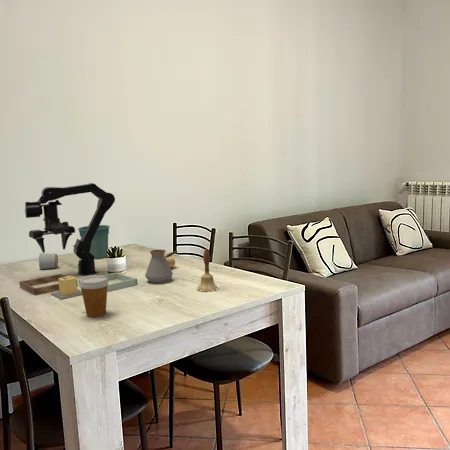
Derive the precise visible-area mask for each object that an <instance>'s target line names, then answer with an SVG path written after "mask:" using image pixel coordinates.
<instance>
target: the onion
mask: <svg viewBox="0 0 450 450" xmlns="http://www.w3.org/2000/svg"><path fill="white" fill-rule="evenodd" d="M168 254H169V253H164V256H166V255H168ZM166 260H167V262H168V264H169V266H170V268H171V269H173V268H174V267H175V265H176V260H175V258H174V257H173V255H172V256H170V257H167V258H166Z"/></svg>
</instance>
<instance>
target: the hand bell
mask: <svg viewBox="0 0 450 450" xmlns="http://www.w3.org/2000/svg"><path fill="white" fill-rule="evenodd" d="M202 258H203V263H204V274H202V275H201V277H200V282H199V285H198V286H197V287H196V290H197V289H198V290H201V291H211V292H213V291H212V290H216V289H217V288H218V289H219V287H218V286H217V285H216V283H215V281H214V276H213V275H212V273H210V261H211V255H210V251H209V249H208V248H205V249H204V251H203V257H202ZM218 289H217V290H218ZM198 290H197V291H198ZM217 290H216V291H217ZM201 291H200V292H201Z"/></svg>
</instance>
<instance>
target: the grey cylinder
mask: <svg viewBox="0 0 450 450" xmlns="http://www.w3.org/2000/svg"><path fill="white" fill-rule="evenodd" d="M38 266H39V270H46V269H47V270H52V269H57V268H58V267H59V255H58V254H57V253H54V252H53V253H46V252H45V253H43V252H42V253H41V252H40V253H39V255H38Z"/></svg>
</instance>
